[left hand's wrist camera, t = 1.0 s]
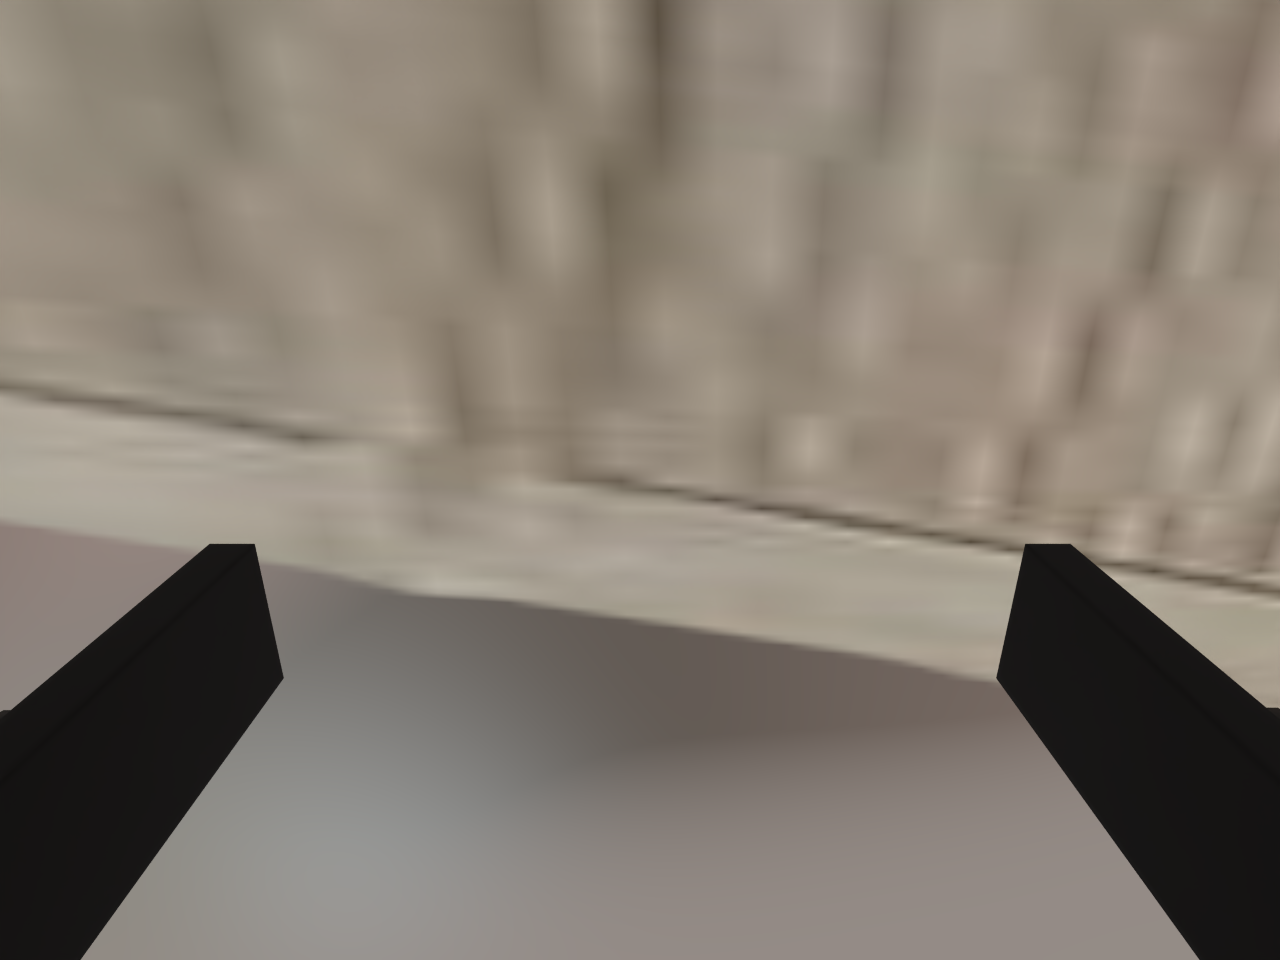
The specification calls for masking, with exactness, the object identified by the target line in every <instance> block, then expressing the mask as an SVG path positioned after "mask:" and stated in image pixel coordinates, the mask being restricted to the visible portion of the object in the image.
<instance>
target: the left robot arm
mask: <svg viewBox="0 0 1280 960" xmlns="http://www.w3.org/2000/svg"><path fill="white" fill-rule="evenodd" d="M283 678H284V677H283V673H282V668H281V663H280V659H279V654H278V650H277V645H276V640H275V636H274V631H273V626H272V622H271V617H270V613H269V608H268V603H267V599H266V594H265V589H264V585H263V580H262V576H261V571H260V566H259V562H258V557H257V552H256V548H255V544H209V545H208V546H207V547H205V548H204V549H203V550H202V551H201V552H199V553H198V554H197V555H196V556H195V557H194V558H192V559H191V560H190V561H189V562H188V563H186V564H185V565H184V566H183V567H182V568H180V569H179V570H178V571H177V572H176V573H174V574H173V575H172V576H171V577H170V578H168V579H167V580H166V581H165V582H164V583H162V584H161V585H160V586H159V587H158V588H156V589H155V590H154V591H153V592H152V593H150V594H149V595H148V596H147V597H146V598H144V599H143V600H142V601H141V602H140V603H138V604H137V605H136V606H135V607H134V608H132V609H131V610H130V611H129V612H128V613H127V614H125V615H124V616H123V617H122V618H121V619H119V620H118V621H117V622H116V623H115V624H113V625H112V626H111V627H110V628H109V629H107V630H106V631H105V632H104V633H103V634H101V635H100V636H99V637H98V638H97V639H95V640H94V641H93V642H92V643H91V644H89V645H88V646H87V647H86V648H85V649H83V650H82V651H81V652H80V653H79V654H78V655H76V656H75V657H74V658H73V659H72V660H70V661H69V662H68V663H67V664H66V665H64V666H63V667H62V668H61V669H60V670H58V671H57V672H56V673H55V674H54V675H52V676H51V677H50V678H49V679H48V680H46V681H45V682H44V683H43V684H42V685H40V686H39V687H38V688H37V689H36V690H34V691H33V692H32V693H31V694H30V695H28V696H27V697H26V698H25V699H24V700H23V701H21V702H20V703H19V704H18V705H17V706H15V707H14V708H13V709H12V710H3V711H1V712H0V960H81V958H82V957H83V956H84V954H85V953H86V951H87V950H88V949H89V947H90V946H91V944H92V943H93V942H94V940H95V939H96V938H97V936H98V935H99V933H100V932H101V931H102V929H103V928H104V926H105V925H106V924H107V922H108V921H109V920H110V918H111V917H112V915H113V914H114V913H115V911H116V910H117V908H118V907H119V906H120V904H121V903H122V902H123V900H124V899H125V897H126V896H127V895H128V893H129V892H130V890H131V889H132V888H133V886H134V885H135V884H136V882H137V881H138V879H139V878H140V877H141V875H142V874H143V872H144V871H145V870H146V868H147V867H148V865H149V864H150V863H151V861H152V860H153V859H154V857H155V856H156V854H157V853H158V852H159V850H160V849H161V847H162V846H163V845H164V843H165V842H166V841H167V839H168V838H169V836H170V835H171V834H172V832H173V831H174V829H175V828H176V827H177V825H178V824H179V823H180V821H181V820H182V818H183V817H184V816H185V814H186V813H187V811H188V810H189V809H190V807H191V806H192V804H193V803H194V802H195V800H196V799H197V797H198V796H199V795H200V793H201V792H202V791H203V789H204V788H205V786H206V785H207V784H208V782H209V781H210V780H211V778H212V777H213V775H214V774H215V773H216V771H217V770H218V768H219V767H220V766H221V764H222V763H223V762H224V760H225V759H226V757H227V756H228V755H229V753H230V752H231V750H232V749H233V748H234V746H235V745H236V743H237V742H238V741H239V739H240V738H241V737H242V735H243V734H244V732H245V731H246V730H247V728H248V727H249V725H250V724H251V723H252V721H253V720H254V719H255V717H256V716H257V714H258V713H259V712H260V710H261V709H262V707H263V706H264V705H265V703H266V702H267V701H268V699H269V698H270V696H271V695H272V694H273V692H274V691H275V689H276V688H277V687H278V685H279V684H280V682H281V681H282V680H283ZM996 678H997V680H998V681H999V683H1000V684H1001V685H1002V687H1003V688H1004V689H1005V691H1006V692H1007V694H1008V695H1009V696H1010V698H1011V699H1012V701H1013V702H1014V703H1015V705H1016V706H1017V707H1018V709H1019V710H1020V712H1021V713H1022V714H1023V716H1024V717H1025V719H1026V720H1027V721H1028V723H1029V724H1030V725H1031V727H1032V728H1033V730H1034V731H1035V732H1036V734H1037V735H1038V737H1039V738H1040V739H1041V741H1042V742H1043V744H1044V745H1045V746H1046V748H1047V749H1048V750H1049V752H1050V753H1051V755H1052V756H1053V757H1054V759H1055V760H1056V761H1057V763H1058V764H1059V766H1060V767H1061V768H1062V770H1063V771H1064V773H1065V774H1066V775H1067V777H1068V778H1069V780H1070V781H1071V782H1072V784H1073V785H1074V786H1075V788H1076V789H1077V791H1078V792H1079V793H1080V795H1081V796H1082V798H1083V799H1084V800H1085V802H1086V803H1087V804H1088V806H1089V807H1090V809H1091V810H1092V811H1093V813H1094V814H1095V816H1096V817H1097V818H1098V820H1099V821H1100V822H1101V824H1102V825H1103V827H1104V828H1105V829H1106V831H1107V832H1108V834H1109V835H1110V836H1111V838H1112V839H1113V841H1114V842H1115V843H1116V845H1117V846H1118V847H1119V849H1120V850H1121V852H1122V853H1123V854H1124V856H1125V857H1126V859H1127V860H1128V861H1129V863H1130V864H1131V865H1132V867H1133V868H1134V870H1135V871H1136V872H1137V874H1138V875H1139V877H1140V878H1141V879H1142V881H1143V882H1144V883H1145V885H1146V886H1147V888H1148V889H1149V890H1150V892H1151V893H1152V895H1153V896H1154V897H1155V899H1156V900H1157V901H1158V903H1159V904H1160V906H1161V907H1162V908H1163V910H1164V911H1165V913H1166V914H1167V915H1168V917H1169V918H1170V920H1171V921H1172V922H1173V924H1174V925H1175V926H1176V928H1177V929H1178V931H1179V932H1180V933H1181V935H1182V936H1183V938H1184V939H1185V940H1186V942H1187V943H1188V944H1189V946H1190V947H1191V949H1192V950H1193V951H1194V953H1195V954H1196V955H1197V957H1198V958H1199V960H1280V709H1279V708H1266V707H1265V706H1264V705H1262V704H1261V703H1260V702H1259V701H1258V700H1256V699H1255V698H1254V697H1253V696H1252V695H1250V694H1249V693H1248V692H1247V691H1246V690H1244V689H1243V688H1242V687H1241V686H1240V685H1238V684H1237V683H1236V682H1235V681H1234V680H1232V679H1231V678H1230V677H1229V676H1228V675H1226V674H1225V673H1224V672H1223V671H1222V670H1220V669H1219V668H1218V667H1217V666H1216V665H1214V664H1213V663H1212V662H1211V661H1210V660H1209V659H1207V658H1206V657H1205V656H1204V655H1203V654H1201V653H1200V652H1199V651H1198V650H1197V649H1195V648H1194V647H1193V646H1192V645H1191V644H1189V643H1188V642H1187V641H1186V640H1185V639H1183V638H1182V637H1181V636H1180V635H1179V634H1177V633H1176V632H1175V631H1174V630H1173V629H1171V628H1170V627H1169V626H1168V625H1167V624H1165V623H1164V622H1163V621H1162V620H1161V619H1159V618H1158V617H1157V616H1156V615H1155V614H1153V613H1152V612H1151V611H1150V610H1149V609H1147V608H1146V607H1145V606H1144V605H1143V604H1142V603H1140V602H1139V601H1138V600H1137V599H1136V598H1134V597H1133V596H1132V595H1131V594H1130V593H1128V592H1127V591H1126V590H1125V589H1124V588H1122V587H1121V586H1120V585H1119V584H1118V583H1116V582H1115V581H1114V580H1113V579H1112V578H1110V577H1109V576H1108V575H1107V574H1106V573H1104V572H1103V571H1102V570H1101V569H1100V568H1098V567H1097V566H1096V565H1095V564H1094V563H1092V562H1091V561H1090V560H1089V559H1088V558H1086V557H1085V556H1084V555H1083V554H1082V553H1081V552H1079V551H1078V550H1077V549H1076V548H1075V547H1073V546H1072V545H1071V544H1025V548H1024V552H1023V557H1022V562H1021V566H1020V571H1019V576H1018V580H1017V585H1016V589H1015V594H1014V599H1013V603H1012V608H1011V613H1010V617H1009V622H1008V626H1007V631H1006V636H1005V640H1004V645H1003V650H1002V654H1001V659H1000V663H999V668H998V673H997V677H996Z"/></svg>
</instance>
